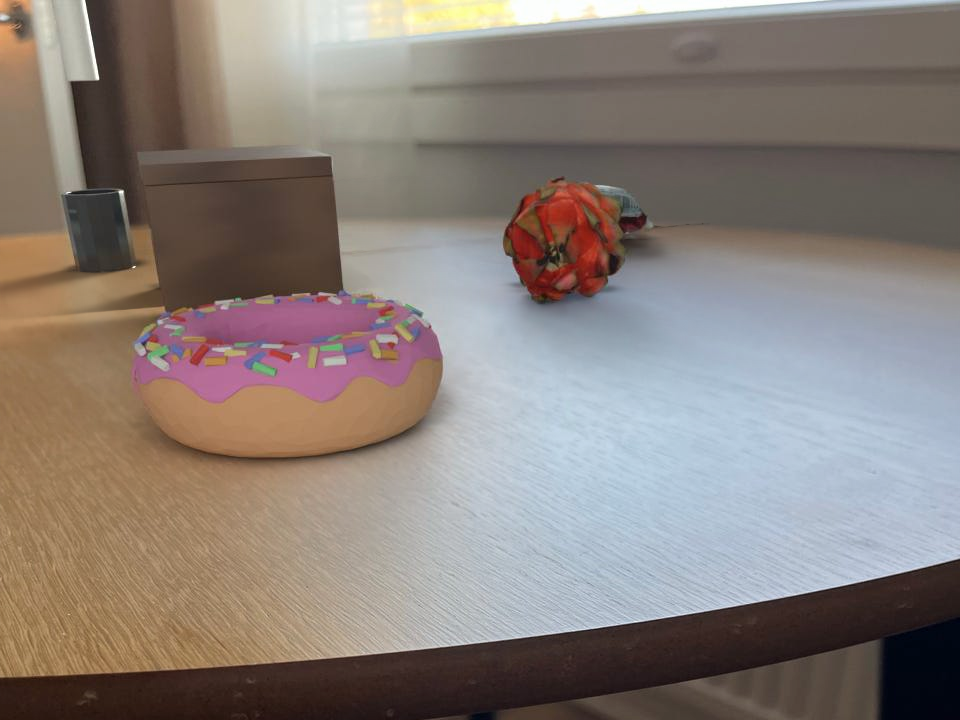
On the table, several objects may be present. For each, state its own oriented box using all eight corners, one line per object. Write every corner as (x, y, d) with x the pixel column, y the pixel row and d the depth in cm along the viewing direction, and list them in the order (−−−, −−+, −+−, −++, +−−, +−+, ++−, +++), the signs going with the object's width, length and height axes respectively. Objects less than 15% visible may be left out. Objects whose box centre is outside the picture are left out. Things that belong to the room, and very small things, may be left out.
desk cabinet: (168, 329, 68) (140, 165, 64) (160, 292, 80) (136, 152, 75) (345, 313, 71) (331, 155, 67) (312, 280, 83) (299, 144, 78)
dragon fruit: (587, 300, 81) (561, 359, 72) (499, 234, 79) (462, 286, 70) (654, 209, 76) (636, 261, 67) (562, 136, 74) (530, 179, 65)
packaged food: (524, 235, 102) (524, 181, 100) (643, 232, 102) (646, 178, 99) (524, 250, 95) (524, 192, 92) (653, 247, 94) (656, 189, 92)
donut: (429, 374, 57) (425, 279, 54) (462, 458, 44) (458, 340, 42) (164, 390, 55) (147, 293, 53) (120, 482, 43) (96, 361, 40)
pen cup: (76, 279, 86) (59, 196, 83) (78, 270, 91) (62, 190, 87) (138, 275, 88) (123, 192, 85) (137, 266, 92) (123, 187, 89)
